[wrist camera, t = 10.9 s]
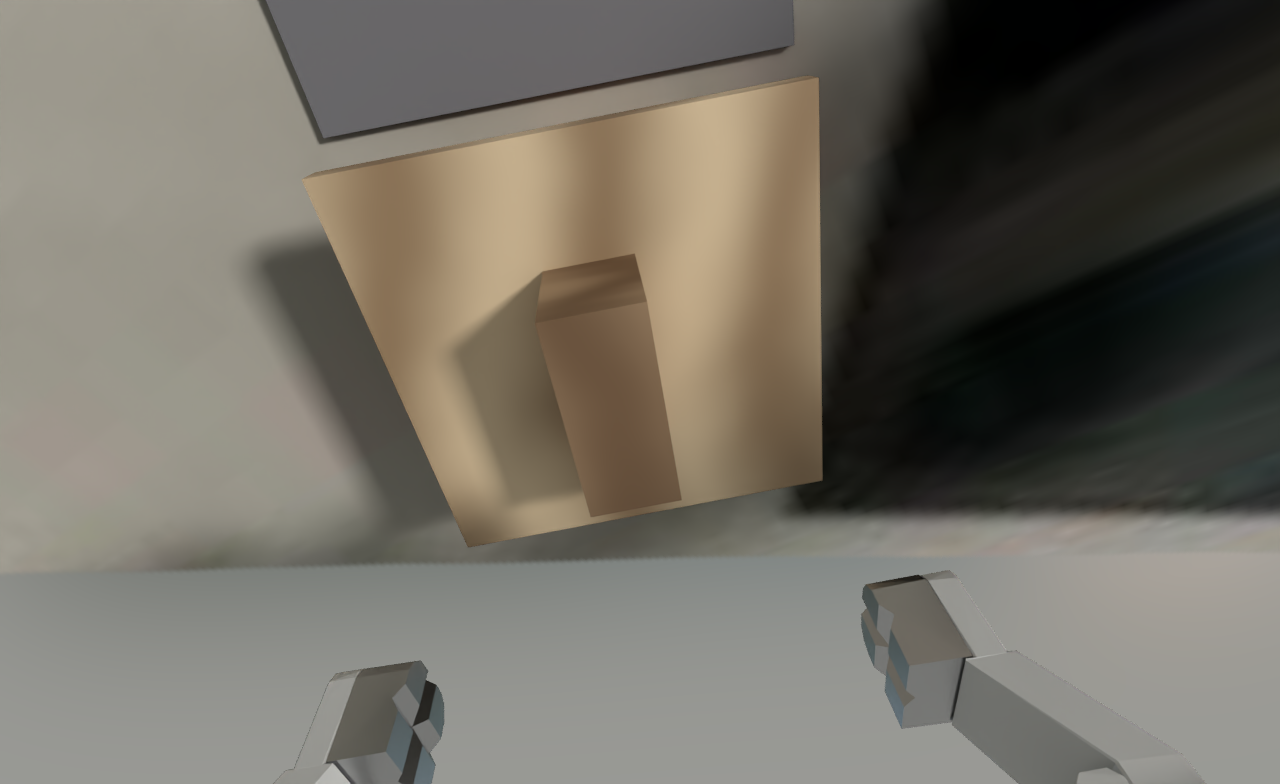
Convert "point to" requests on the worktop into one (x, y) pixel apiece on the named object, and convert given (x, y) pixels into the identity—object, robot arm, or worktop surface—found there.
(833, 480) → the worktop surface
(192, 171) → the worktop surface
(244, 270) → the worktop surface
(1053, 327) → the worktop surface
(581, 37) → the mat
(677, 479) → the lid
